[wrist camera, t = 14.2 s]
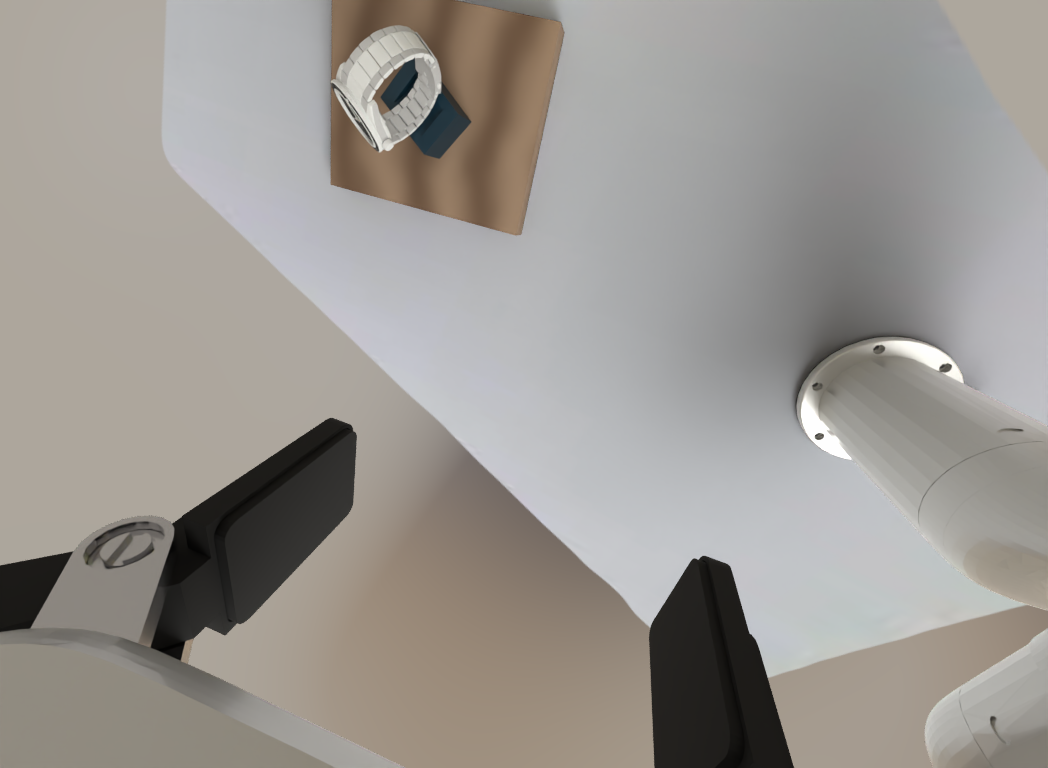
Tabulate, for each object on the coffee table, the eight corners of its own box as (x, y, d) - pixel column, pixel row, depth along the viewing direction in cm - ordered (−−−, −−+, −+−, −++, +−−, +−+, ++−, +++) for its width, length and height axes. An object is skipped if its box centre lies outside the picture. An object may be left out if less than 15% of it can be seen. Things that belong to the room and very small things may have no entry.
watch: (386, 123, 36) (297, 89, 26) (443, 47, 33) (365, -24, 23) (426, 175, 37) (354, 161, 27) (486, 106, 34) (429, 62, 24)
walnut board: (564, 32, 32) (560, 21, 30) (521, 234, 39) (516, 235, 37) (347, -13, 34) (332, -25, 33) (343, 185, 41) (330, 184, 40)
